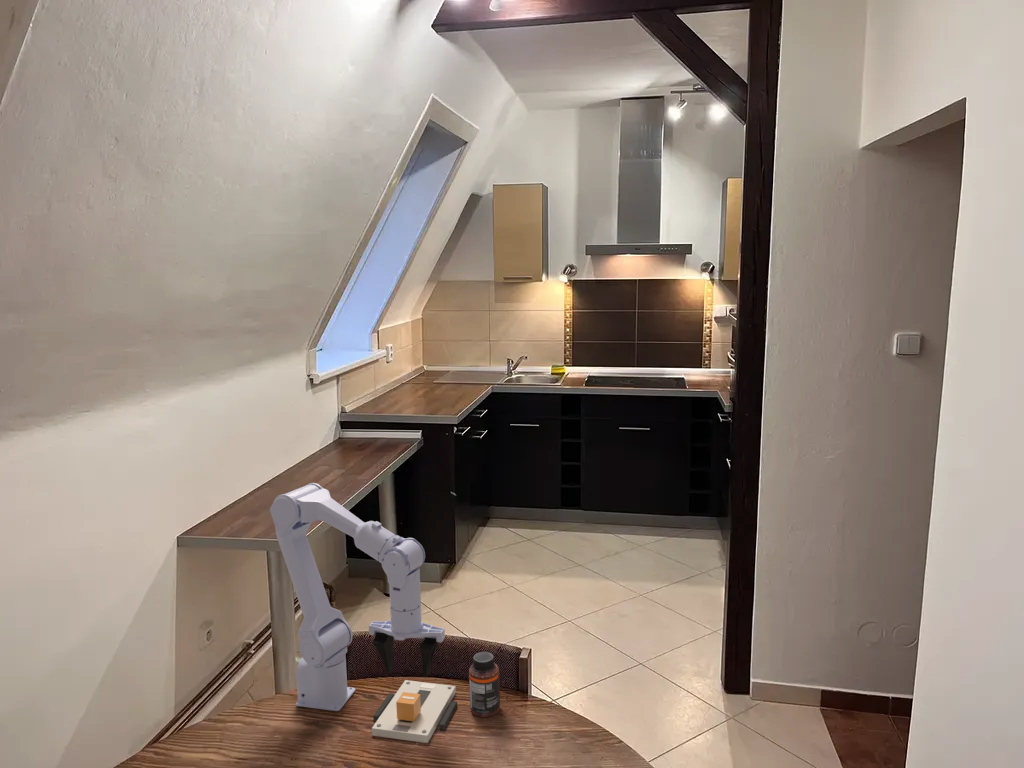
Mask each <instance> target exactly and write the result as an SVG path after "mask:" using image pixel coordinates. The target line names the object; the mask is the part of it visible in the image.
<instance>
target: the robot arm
mask: <svg viewBox="0 0 1024 768" xmlns="http://www.w3.org/2000/svg"><path fill="white" fill-rule="evenodd" d="M269 513H270V514H271V518H272V522H273V525H274V526H275V527H274V529H275V536H276V539H277V541H278V542H277V543H278V544H279V548H280V550H281V553H282V556H283V559H284V563H285V566H286V568H287V572H288V575H289V577H290V580H291V583H292V586H293V588H294V592H295V595H296V598H297V600H298V604H299V607H300V609H301V612H302V614H303V615H302V616H303V619H302V622H301V624H300V625H299V629H298V631H297V636H298V639H299V652H300V656H301V658H300V660H299V661H298V664H297V667H296V677H295V678H296V688H297V689H296V690H297V692H296V693H297V701H296V703H295V705H296V707H303V708H308V709H309V708H310V709H319V710H325V711H333V712H340V711H341V710H342V708H343V707H344V706H345V705H346V703H347V702H348V700H349V699H350V698H351V697H352V696H353V694H354V693H355V692H356V688H355V687H353V686H352V687H351V686H348V677H347V658H346V657H347V656H346V654H347V653H348V646H349V645H350V644H351V643H352V641H353V637H354V636H353V630H352V628H351V626H350V624H349V623H348V622H347V621H346V619H345V618H344V615H343V612H342V611H341V610H339V609H336V608H335V607H332V605H331V604H330V601H329V598H328V594H327V591H326V589H325V587H324V586H325V585H324V583H323V581H322V580H323V579H322V577H321V575H320V571H319V568H318V565H317V563H316V559H315V556H314V554H313V551H312V548H311V545H310V542H309V538H308V537H307V536H308V535H307V533H308V531H309V529H310V526H311V525H312V523H313V522H318V521H322V522H324V523H325V524H328V525H329V526H331V527H333V528H335V529H336V530H339V531H341V532H342V533H344V534H346V535H348V536H349V537H352V538H353V543H354V545H355V547H356V548H357V549H359V550H360V551H362V552H364V554H367V555H368V556H370V557H371V558H372V559H374V560H375V561H377V562H379V563H380V564H381V568H382V570H383V571H384V573H385V575H386V577H387V583H388V585H389V587H388V589H389V604H390V605H389V606H390V607H389V608H390V620H381V621H380V620H373V621H372V622H371V623H370V624H369V625H368V635H369V636H374V639H373V640H372V644H373V646H374V647H375V649H376V650H377V651H378V652H377V653H379V656H380V658H381V659H382V660H381V661H382V662H383V665H384V669H385V672H386V673H387V674H390V673H391V671H392V670H393V669H394V667H395V666H394V664H395V658H394V657H395V655H394V643H395V642H394V641H396V640H397V641H404V640H406V639H412V638H413V639H420V640H421V639H422V640H423V641H422V642H421V644H420V645H419V650H420V656H421V661H422V677H423V678H427V677H428V676H429V675H430V673H431V669H432V663H433V659H434V655H435V652H436V649H437V648H438V644H439V643H443V641H444V640H445V636H446V633H445V631H446V630H445V629H446V628H445V627H438V626H435V625H431V624H429V623H425V622H423V621H422V601H421V600H422V598H421V569H420V567H421V566H422V565H423V564H424V563H425V559H426V552H425V548H424V547H423V545H422V544H421V543H420V542H419V541H418V540H417V539H415V538H413V537H407V538H404V537H403V536H400V535H398V534H395V533H393V532H392V531H390V530H388V529H387V528H385V527H384V526H382V523H381V522H379V521H377V520H376V521H374V520H369V521H366V522H365V521H363V520H362V519H360V518H359V517H358V516H356V515H355V514H354V513H352V512H351V511H349V510H348V509H347V508H345V507H344V506H343V505H342V504H340V503H339V502H338V501H336V500H335V499H333V498H332V497H331V493H330V491H329V490H328V489H326V488H324V487H323V486H321V485H320V484H319V483H316V482H310V483H307V484H306V485H304V486H301V487H299V488H295V489H294V490H291V491H288V492H286V493H282V494H278V495H277V496H276V497H275V498H274V500H273V501H272V504H271V505H270V508H269Z"/></svg>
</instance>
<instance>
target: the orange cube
mask: <svg viewBox="0 0 1024 768" xmlns="http://www.w3.org/2000/svg"><path fill="white" fill-rule="evenodd" d="M396 706H397V719H399V720H407V721H415V720H416V718H417V716H418V715H419V713H420V712H421V701H420V694H414V693H406V692H403V693H402V695H401V696H400V698H399V699H398V700H397V702H396Z"/></svg>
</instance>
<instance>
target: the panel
mask: <svg viewBox="0 0 1024 768" xmlns="http://www.w3.org/2000/svg"><path fill="white" fill-rule="evenodd" d="M456 689H457V687H456V685H452V684H451V685H449V684H441V683H433V682H427V681H426V682H424V681H423V682H422V681H418V680H417V681H415V680H408V679H407V680H406V679H405V680H404V681H403V683H402V684H401V686H400V687H399V688H398V690H397V691H396V693H394V697H393V698H392V700H391V701H390V703H389V704H388V706H387V707H386V708H385V710H384V711H383V713H382V714H381V716H380V717H379V719H378V720H377V721H375V723H374V724H373V726H372V727H371V736H375V737H382V738H387V739H388V738H390V739H393V740H395V739H396V740H404V741H411V742H417V743H423V744H428V743H429V742H430V740H431V738H432V736H433V734H434V733H435V732H436V729H437V727H439V724H440V722H441V720H442V718H443V716H444V715H445V713H446V711H447V709H448V707H449V706H450V704H451V702H452V701H453V699H454V698H455V695H456V693H457V690H456ZM403 692H406V693H414V694H420V701H421V712H420V713H419V715H418V716H417V718H416V720H415V721H407V720H399V719H397V706H396V702H397V700H398V699H399V698H400V696H401V695H402V693H403Z"/></svg>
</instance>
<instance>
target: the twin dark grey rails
mask: <svg viewBox="0 0 1024 768" xmlns="http://www.w3.org/2000/svg"><path fill="white" fill-rule="evenodd" d="M394 696H395V693H392V692H389V693H388V695H386V697H385V699H384V700H383V701H382V702H381V704H380V706H379V707H378V708H377V710H376V711H375V713H374V714H373V718H372V719H373V721H375V722H376V721H377V720H378V719H379V717H380V716H381V714H382V713H383V711H384V710H385V708H386V707H387V706H388V704H389V703H390V701H391V700H392V698H393V697H394ZM457 707H458V701H456V700H452V701H451V702H450V704H449V706H448V708H447V710H446V711H445V713H444V715H443V717H442V718H441V720H440V722H439V724H438V729H439V730H444V731H445V729H446V728H447V725H448V723H449V721H450V720H451V719H452V716H453V715H454V712H455V711H456V709H457Z"/></svg>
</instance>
